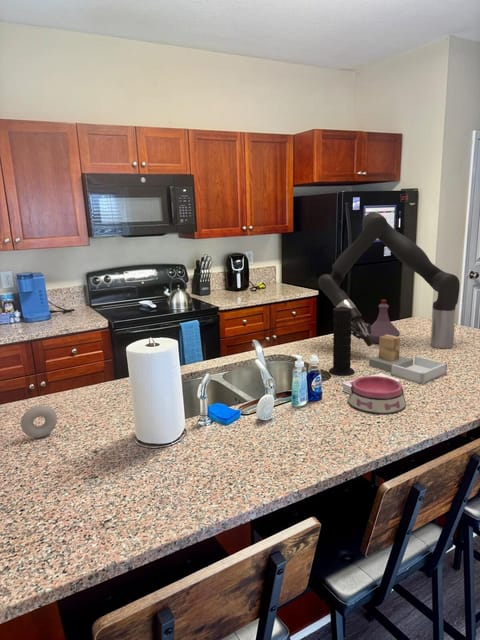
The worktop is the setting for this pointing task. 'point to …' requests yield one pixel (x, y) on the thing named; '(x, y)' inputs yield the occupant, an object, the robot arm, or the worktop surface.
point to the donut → (32, 415)
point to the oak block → (389, 347)
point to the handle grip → (342, 342)
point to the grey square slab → (389, 363)
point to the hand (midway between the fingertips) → (371, 344)
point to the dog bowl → (377, 395)
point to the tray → (420, 370)
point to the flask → (383, 324)
